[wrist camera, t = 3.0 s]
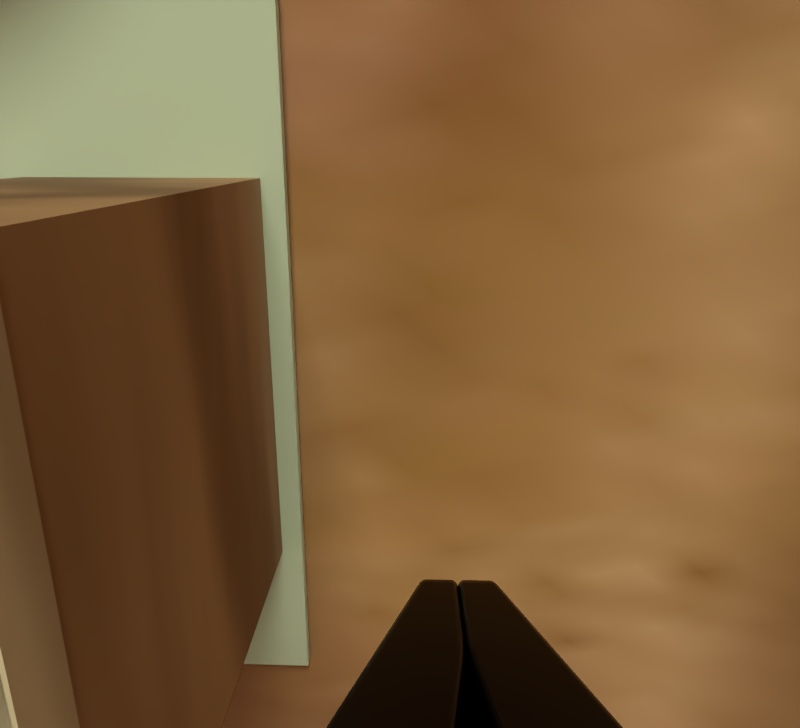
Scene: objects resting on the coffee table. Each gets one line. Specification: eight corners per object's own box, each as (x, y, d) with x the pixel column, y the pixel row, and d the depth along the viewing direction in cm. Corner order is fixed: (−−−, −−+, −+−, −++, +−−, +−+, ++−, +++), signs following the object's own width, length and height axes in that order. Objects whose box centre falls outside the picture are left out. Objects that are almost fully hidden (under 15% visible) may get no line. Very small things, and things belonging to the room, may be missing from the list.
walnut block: (262, 175, 14) (-92, 237, 4) (284, 553, 17) (100, 1094, 7) (21, 174, 14) (-831, 231, 4) (83, 549, 17) (-359, 1072, 7)
